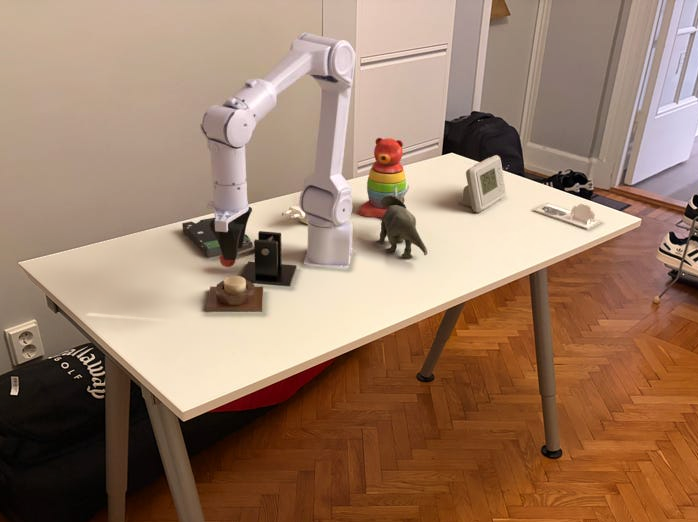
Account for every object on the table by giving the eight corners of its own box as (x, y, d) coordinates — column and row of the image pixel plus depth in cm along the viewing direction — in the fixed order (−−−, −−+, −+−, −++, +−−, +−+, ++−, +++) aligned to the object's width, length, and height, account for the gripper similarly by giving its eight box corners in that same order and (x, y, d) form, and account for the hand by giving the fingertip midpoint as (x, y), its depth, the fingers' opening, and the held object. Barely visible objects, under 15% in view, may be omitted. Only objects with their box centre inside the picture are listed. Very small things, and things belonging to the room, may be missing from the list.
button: (246, 284, 135) (246, 275, 134) (245, 294, 132) (245, 285, 131) (225, 284, 135) (224, 275, 134) (223, 294, 132) (223, 285, 131)
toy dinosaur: (428, 271, 151) (434, 221, 144) (389, 273, 149) (393, 222, 143) (402, 228, 168) (406, 182, 162) (367, 230, 167) (370, 183, 160)
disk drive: (182, 234, 159) (208, 260, 149) (180, 223, 158) (207, 248, 147) (225, 226, 164) (254, 251, 154) (224, 214, 163) (253, 238, 152)
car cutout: (600, 222, 178) (604, 205, 176) (587, 229, 174) (591, 212, 171) (547, 204, 186) (551, 188, 184) (534, 211, 182) (537, 194, 180)
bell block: (263, 293, 139) (262, 277, 137) (262, 314, 132) (261, 297, 130) (210, 293, 138) (209, 276, 136) (207, 314, 131) (205, 297, 129)
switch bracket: (239, 284, 141) (237, 243, 136) (248, 266, 148) (246, 226, 143) (290, 288, 141) (289, 247, 136) (296, 270, 148) (296, 230, 143)
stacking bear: (355, 214, 174) (359, 141, 164) (371, 201, 182) (375, 130, 172) (397, 223, 171) (403, 149, 161) (411, 209, 179) (418, 137, 169)
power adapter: (293, 233, 163) (293, 208, 160) (279, 226, 165) (278, 202, 162) (328, 220, 170) (329, 197, 167) (314, 214, 172) (314, 191, 169)
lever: (222, 271, 143) (214, 257, 141) (226, 264, 145) (218, 251, 144) (276, 253, 140) (269, 239, 138) (279, 247, 142) (272, 232, 141)
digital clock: (476, 215, 177) (482, 174, 171) (448, 204, 182) (453, 163, 177) (515, 201, 187) (522, 161, 181) (487, 191, 192) (494, 151, 186)
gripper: (216, 164, 128) (221, 234, 135) (194, 193, 116) (200, 269, 123) (256, 167, 128) (258, 237, 135) (237, 196, 116) (241, 272, 123)
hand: (233, 253), depth 129 cm, fingers open, 4 cm apart
